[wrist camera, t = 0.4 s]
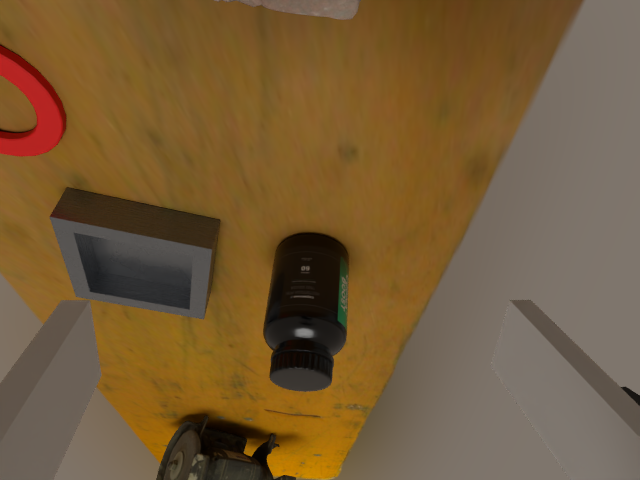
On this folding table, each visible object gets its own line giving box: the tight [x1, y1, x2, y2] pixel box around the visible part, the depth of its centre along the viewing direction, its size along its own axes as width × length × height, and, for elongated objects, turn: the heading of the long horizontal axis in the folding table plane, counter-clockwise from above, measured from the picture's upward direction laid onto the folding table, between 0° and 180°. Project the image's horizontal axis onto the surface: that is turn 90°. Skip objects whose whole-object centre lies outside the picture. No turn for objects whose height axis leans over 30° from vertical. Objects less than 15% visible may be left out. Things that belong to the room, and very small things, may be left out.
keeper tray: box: [50, 188, 220, 319], centre depth 42 cm, size 12×12×3 cm
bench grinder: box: [156, 416, 296, 480], centre depth 83 cm, size 20×22×20 cm
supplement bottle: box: [263, 234, 349, 392], centre depth 38 cm, size 7×7×12 cm
